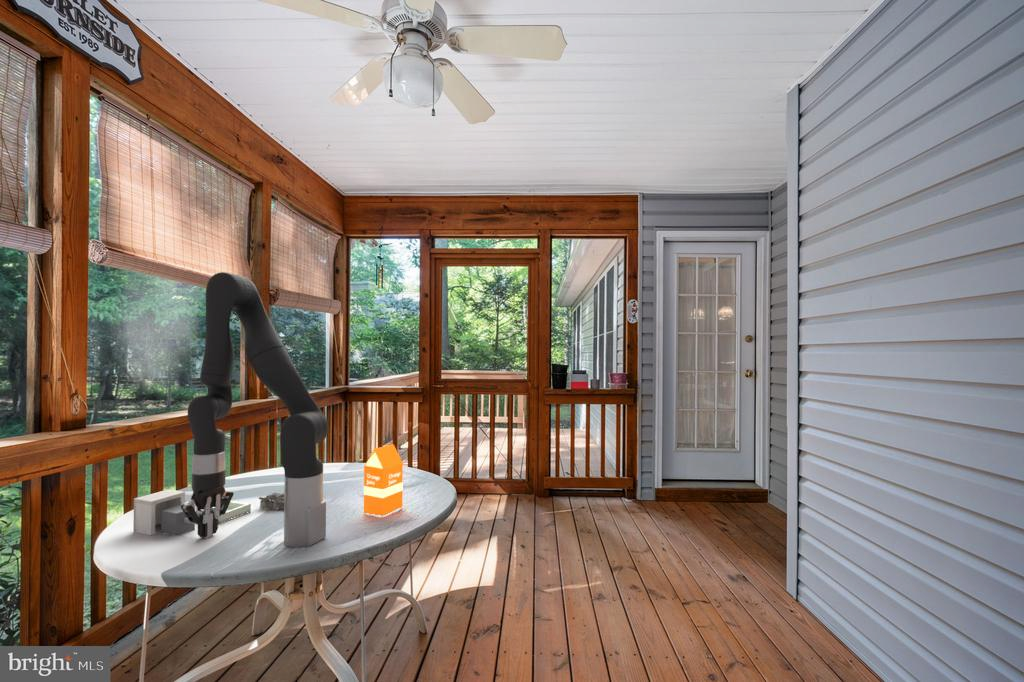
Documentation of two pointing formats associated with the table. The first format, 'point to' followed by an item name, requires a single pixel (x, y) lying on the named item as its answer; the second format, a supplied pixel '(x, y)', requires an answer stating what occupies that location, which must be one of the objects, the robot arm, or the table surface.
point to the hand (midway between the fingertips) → (207, 534)
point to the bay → (154, 509)
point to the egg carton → (272, 501)
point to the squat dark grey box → (180, 522)
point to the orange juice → (383, 481)
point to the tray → (233, 510)
